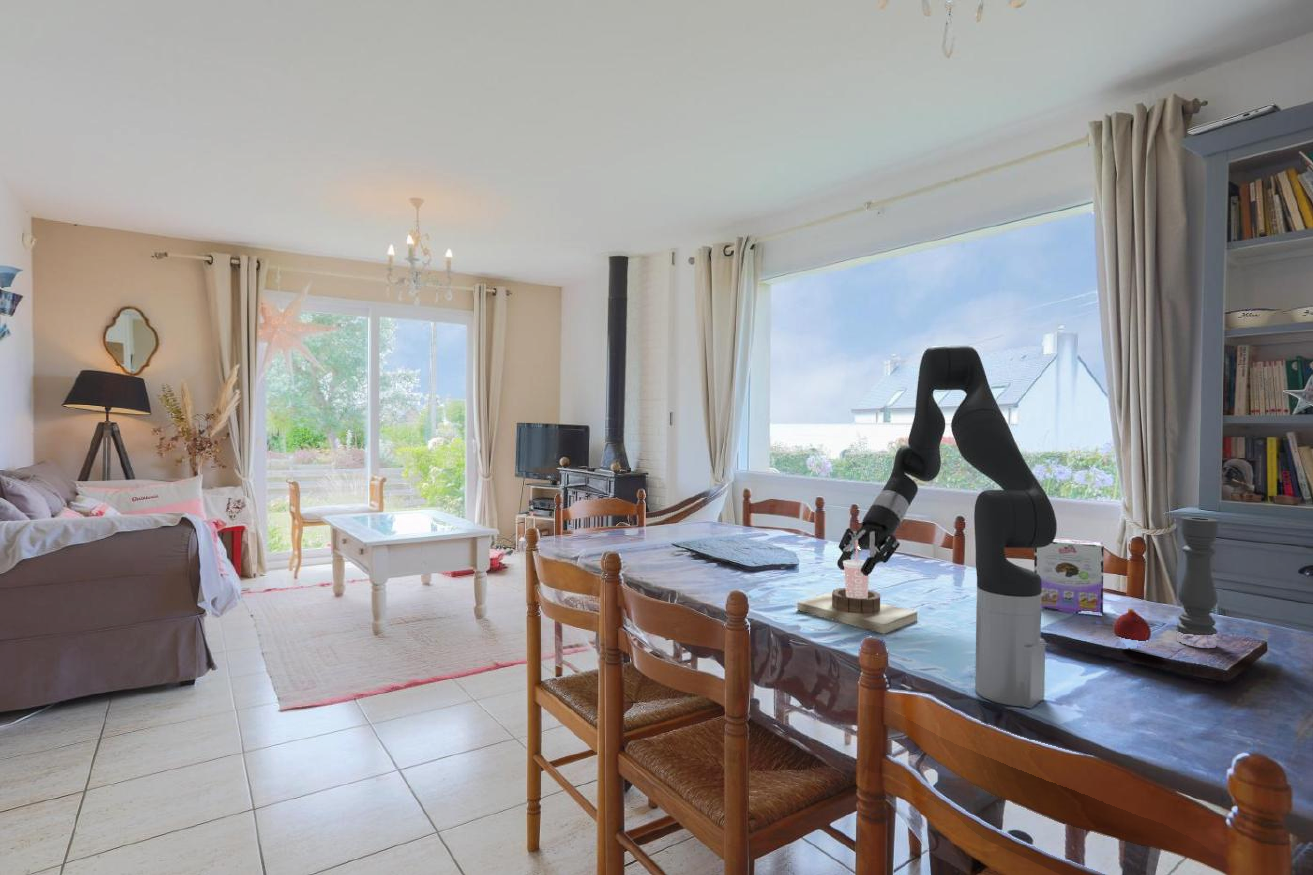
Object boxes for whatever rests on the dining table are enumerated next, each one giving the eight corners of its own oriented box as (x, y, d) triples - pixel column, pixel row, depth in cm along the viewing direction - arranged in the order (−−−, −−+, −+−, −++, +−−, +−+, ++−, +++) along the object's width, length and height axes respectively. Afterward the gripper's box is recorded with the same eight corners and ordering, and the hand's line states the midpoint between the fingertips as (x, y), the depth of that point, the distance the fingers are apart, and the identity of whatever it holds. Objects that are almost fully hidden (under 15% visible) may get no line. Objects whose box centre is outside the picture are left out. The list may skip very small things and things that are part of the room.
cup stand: (917, 620, 146) (917, 598, 146) (884, 634, 137) (884, 610, 137) (832, 600, 163) (832, 579, 163) (797, 610, 154) (797, 589, 154)
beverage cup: (841, 603, 148) (841, 541, 148) (843, 596, 154) (843, 537, 154) (870, 606, 146) (870, 543, 146) (871, 599, 152) (871, 538, 151)
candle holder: (1224, 649, 128) (1227, 521, 127) (1187, 647, 129) (1190, 520, 129) (1204, 639, 134) (1207, 517, 134) (1169, 637, 136) (1172, 516, 135)
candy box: (1102, 611, 154) (1103, 541, 154) (1103, 617, 149) (1104, 545, 149) (1034, 602, 161) (1035, 535, 161) (1032, 608, 156) (1034, 539, 156)
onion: (1152, 649, 128) (1152, 608, 128) (1147, 657, 124) (1148, 614, 124) (1116, 642, 132) (1116, 602, 132) (1110, 649, 128) (1111, 608, 128)
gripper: (854, 500, 159) (819, 554, 153) (905, 507, 147) (870, 566, 141) (868, 520, 163) (835, 574, 156) (919, 528, 151) (885, 587, 144)
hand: (851, 570), depth 149 cm, fingers closed on beverage cup, 6 cm apart
